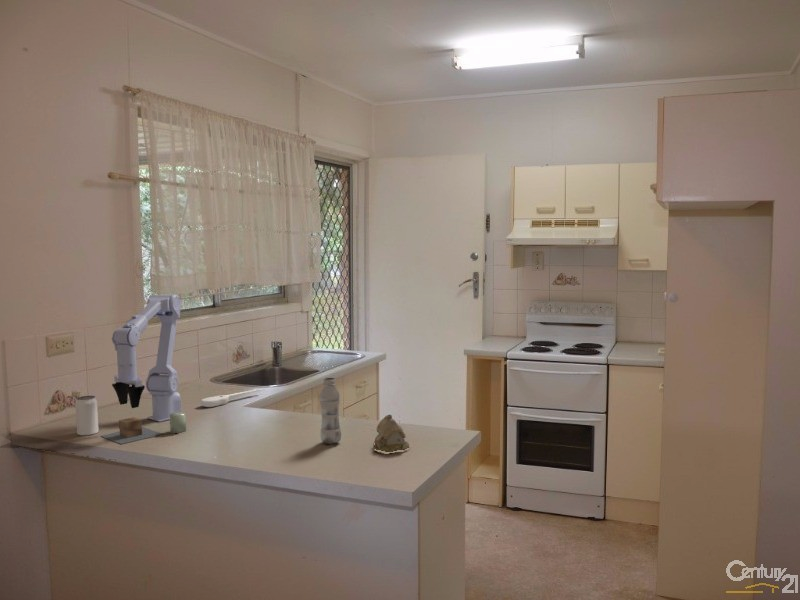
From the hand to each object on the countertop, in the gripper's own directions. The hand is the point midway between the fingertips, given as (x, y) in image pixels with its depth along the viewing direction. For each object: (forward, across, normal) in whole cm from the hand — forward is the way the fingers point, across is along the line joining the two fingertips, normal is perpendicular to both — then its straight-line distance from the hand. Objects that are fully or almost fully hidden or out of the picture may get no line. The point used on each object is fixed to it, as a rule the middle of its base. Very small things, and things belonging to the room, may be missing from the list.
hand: (129, 405), depth 224 cm
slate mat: (+9, +2, -1) cm, 10 cm away
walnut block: (+9, +2, -1) cm, 9 cm away
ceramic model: (+10, +77, +42) cm, 88 cm away
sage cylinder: (+9, +10, +11) cm, 18 cm away
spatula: (+10, -11, +48) cm, 50 cm away
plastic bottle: (+10, +60, +34) cm, 69 cm away
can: (+10, -12, -9) cm, 17 cm away
